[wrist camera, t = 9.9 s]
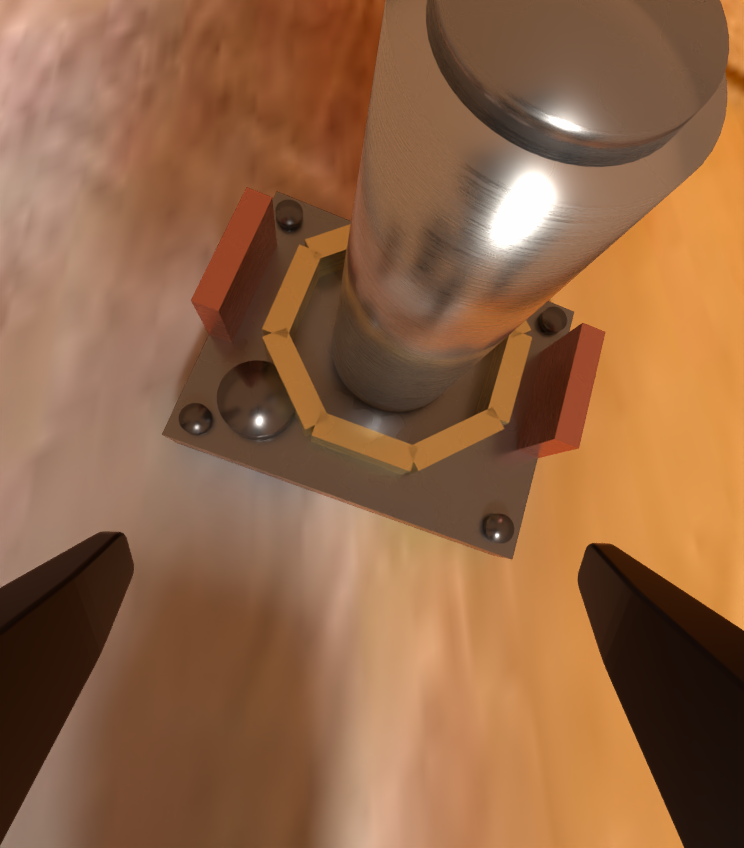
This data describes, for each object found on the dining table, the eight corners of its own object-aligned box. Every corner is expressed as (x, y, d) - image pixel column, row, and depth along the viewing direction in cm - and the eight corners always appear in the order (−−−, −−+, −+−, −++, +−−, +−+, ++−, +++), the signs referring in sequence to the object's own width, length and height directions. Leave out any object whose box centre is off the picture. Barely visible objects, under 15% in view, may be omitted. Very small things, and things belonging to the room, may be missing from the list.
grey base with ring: (492, 555, 20) (551, 568, 15) (176, 442, 19) (132, 418, 14) (552, 324, 23) (618, 274, 18) (281, 215, 22) (274, 131, 17)
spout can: (444, 425, 19) (760, 225, 6) (317, 392, 18) (348, 87, 5) (477, 255, 21) (772, -184, 8) (364, 221, 20) (471, -315, 7)
